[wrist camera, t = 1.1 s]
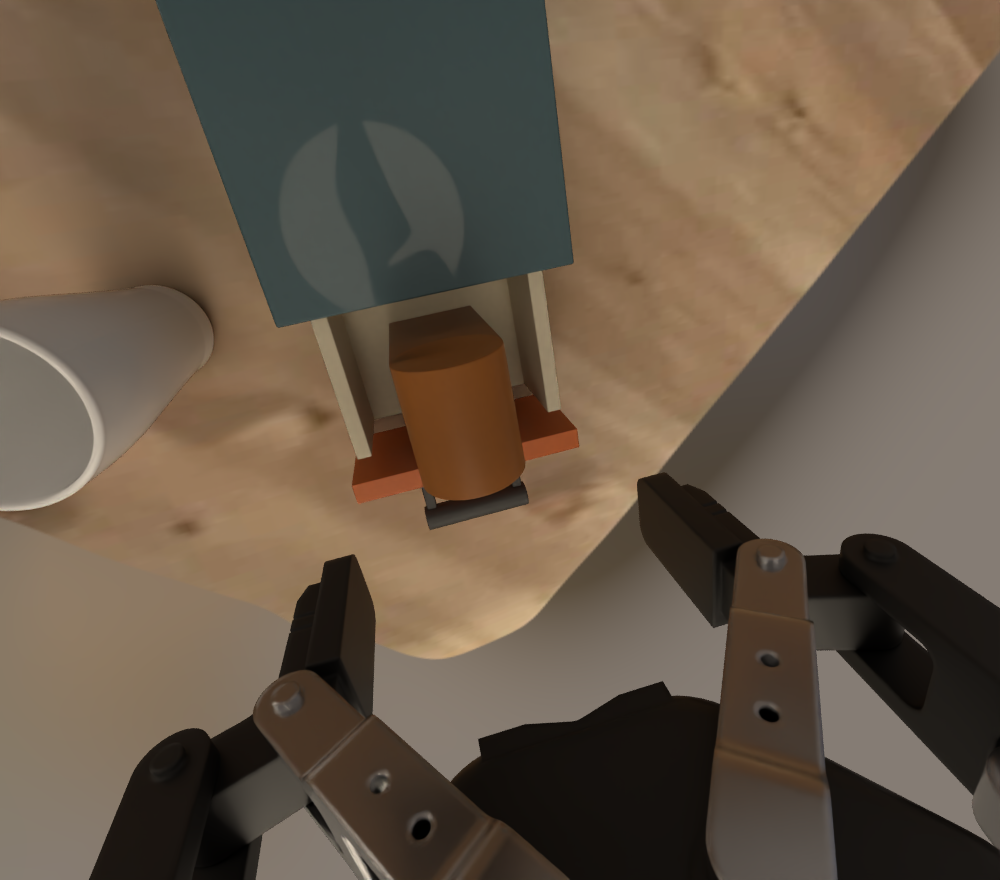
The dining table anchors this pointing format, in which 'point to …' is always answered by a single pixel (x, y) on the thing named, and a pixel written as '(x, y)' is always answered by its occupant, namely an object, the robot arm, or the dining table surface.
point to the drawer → (372, 395)
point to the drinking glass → (88, 382)
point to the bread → (456, 403)
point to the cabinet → (379, 143)
